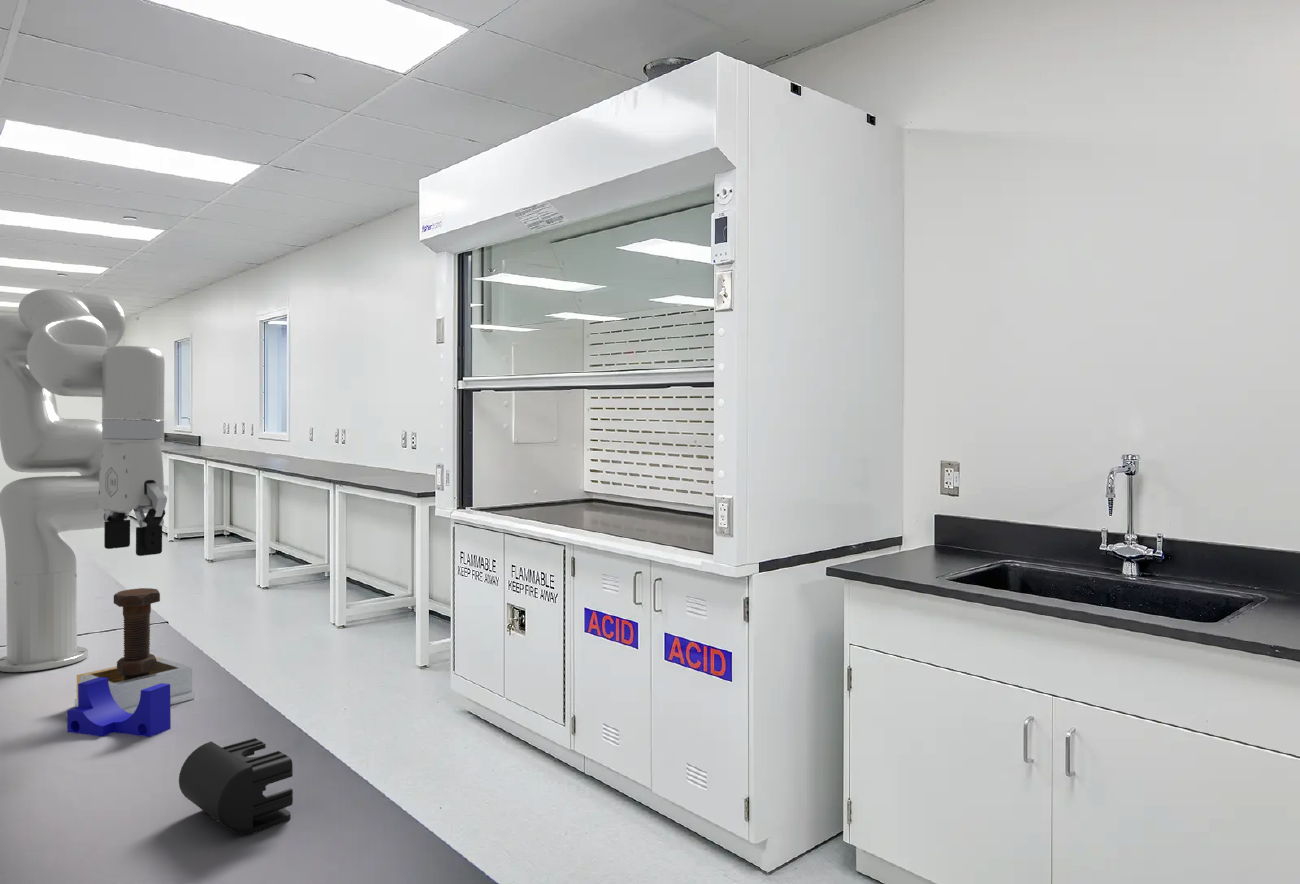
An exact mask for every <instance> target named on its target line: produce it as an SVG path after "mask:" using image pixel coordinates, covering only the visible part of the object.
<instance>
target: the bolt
mask: <svg viewBox="0 0 1300 884" xmlns="http://www.w3.org/2000/svg"><path fill="white" fill-rule="evenodd" d="M160 601H161V592H160V591H159V590H158V589H157V588H152V587H151V588H149V587H144V588H143V587H138V588H132V589H131V588H130V589H124V590H123V589H122V590H121V591H118V592H116V593H115V594H114V595H113V604H115V606H117V607H118V608H119V607H120V608H122V616H123V656H122V657H121V658H120V659H118V660H117V661H116V666H117V671H118V673H119V674H121V675H124V678H123V679H124V681H125V680H130V679H134V678H138V677H143V676H147V675H150V672H151V671H152V670H154V669H155V668H156V658H157V657H156V656H155V655H154V654H152V653H151V652H150V651H151V648H150V647H151V625H150V624H151V612H152V611H151V609H152V606H151V605H152V604H155V603H158V602H160Z"/></svg>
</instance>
